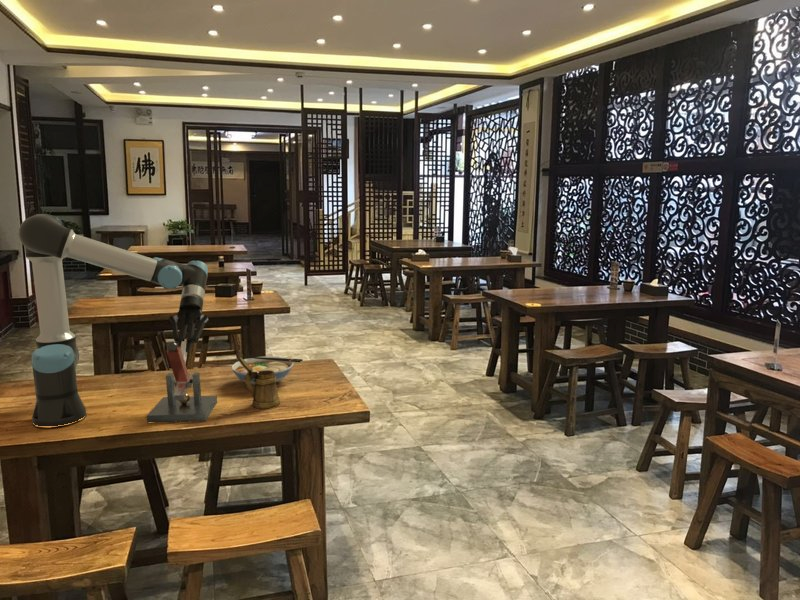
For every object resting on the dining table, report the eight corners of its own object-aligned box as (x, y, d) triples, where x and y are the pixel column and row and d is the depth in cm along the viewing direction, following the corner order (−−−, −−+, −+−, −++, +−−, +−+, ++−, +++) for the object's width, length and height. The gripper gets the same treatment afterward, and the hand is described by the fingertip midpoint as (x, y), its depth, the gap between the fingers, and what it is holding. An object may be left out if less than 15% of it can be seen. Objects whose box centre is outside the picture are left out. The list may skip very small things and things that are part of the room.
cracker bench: (147, 423, 193) (143, 385, 191) (163, 404, 210) (160, 369, 208) (205, 421, 195) (202, 383, 192) (217, 402, 211) (215, 367, 209)
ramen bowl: (217, 390, 224) (216, 368, 223) (250, 371, 246) (249, 352, 244) (279, 396, 217) (278, 374, 215) (307, 377, 238) (306, 356, 237)
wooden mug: (239, 402, 211) (236, 351, 208) (279, 398, 215) (276, 348, 211) (239, 411, 203) (236, 358, 200) (281, 407, 206) (278, 355, 203)
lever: (170, 400, 198) (156, 360, 185) (175, 380, 204) (162, 339, 191) (189, 400, 199) (176, 359, 185) (194, 380, 205) (182, 339, 192)
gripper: (213, 306, 217) (205, 365, 204) (175, 307, 217) (165, 366, 204) (208, 294, 211) (199, 354, 198) (170, 295, 210) (158, 355, 197)
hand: (182, 360), depth 201 cm, fingers closed
